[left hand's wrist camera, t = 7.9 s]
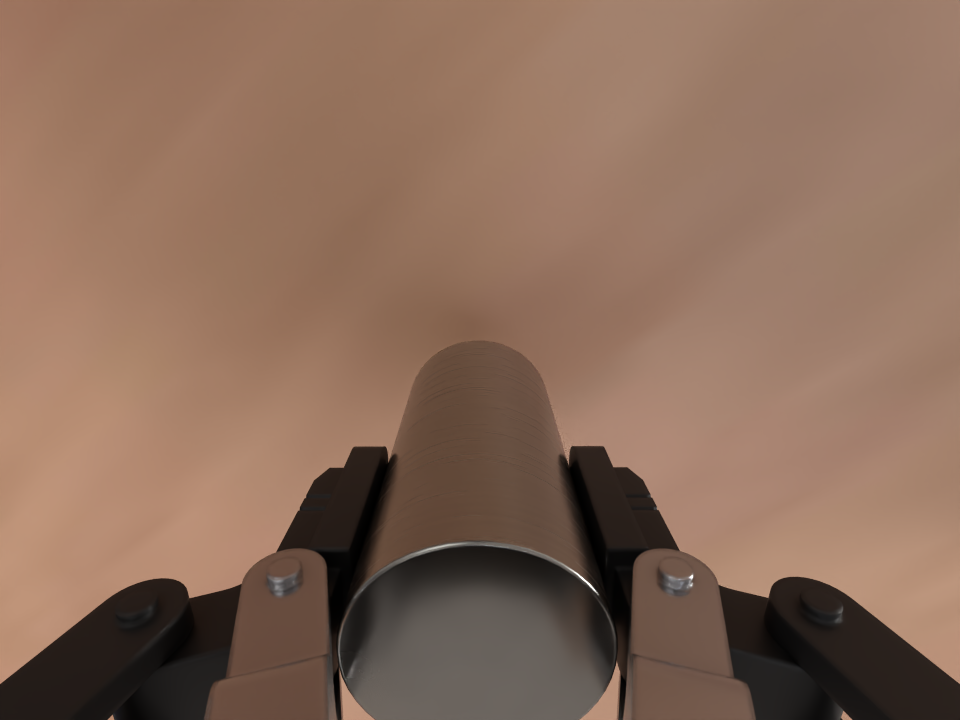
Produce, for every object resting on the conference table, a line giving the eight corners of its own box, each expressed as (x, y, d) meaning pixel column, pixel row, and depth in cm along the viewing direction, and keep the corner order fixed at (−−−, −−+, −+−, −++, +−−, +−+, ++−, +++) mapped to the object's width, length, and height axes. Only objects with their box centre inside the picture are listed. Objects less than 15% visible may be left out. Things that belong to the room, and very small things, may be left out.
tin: (384, 421, 17) (284, 686, 8) (459, 312, 15) (433, 491, 7) (495, 486, 17) (510, 788, 9) (575, 388, 16) (679, 630, 8)
